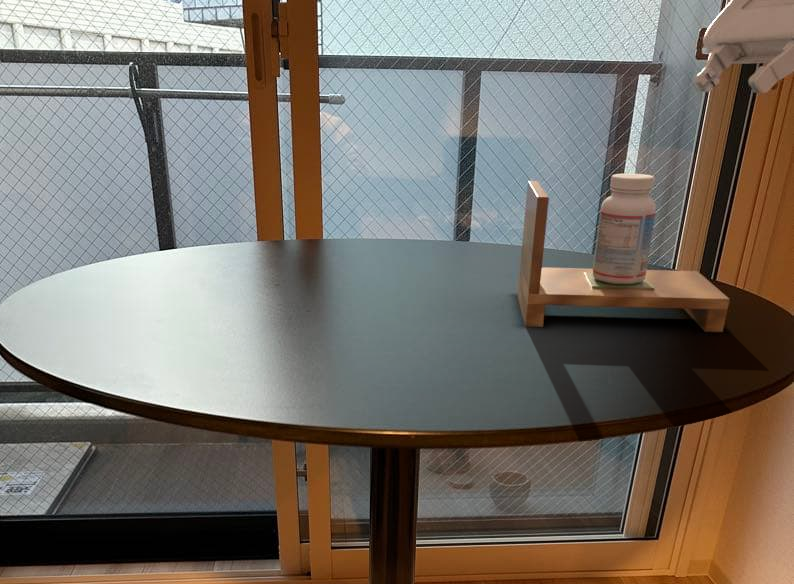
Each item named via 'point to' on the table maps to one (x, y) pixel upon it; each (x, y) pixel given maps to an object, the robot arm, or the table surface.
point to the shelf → (585, 290)
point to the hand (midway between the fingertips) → (726, 87)
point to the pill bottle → (625, 230)
